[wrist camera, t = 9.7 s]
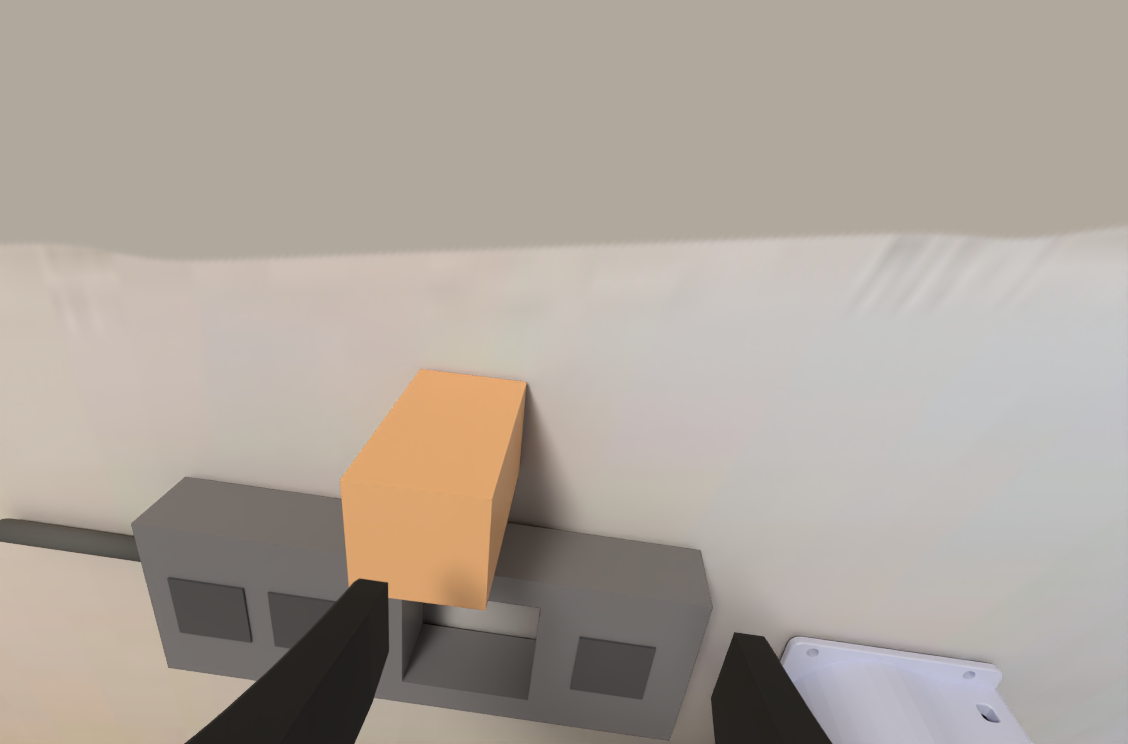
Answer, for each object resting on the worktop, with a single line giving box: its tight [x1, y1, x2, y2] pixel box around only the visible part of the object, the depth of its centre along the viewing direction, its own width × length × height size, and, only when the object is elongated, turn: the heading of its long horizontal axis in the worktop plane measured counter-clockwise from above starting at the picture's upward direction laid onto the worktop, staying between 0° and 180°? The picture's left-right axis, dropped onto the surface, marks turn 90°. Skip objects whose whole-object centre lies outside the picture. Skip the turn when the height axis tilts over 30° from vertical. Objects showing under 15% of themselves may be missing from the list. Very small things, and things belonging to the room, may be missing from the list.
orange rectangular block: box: [340, 369, 527, 610], centre depth 19 cm, size 4×4×7 cm
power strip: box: [0, 477, 713, 741], centre depth 24 cm, size 31×8×3 cm, turn 83°
